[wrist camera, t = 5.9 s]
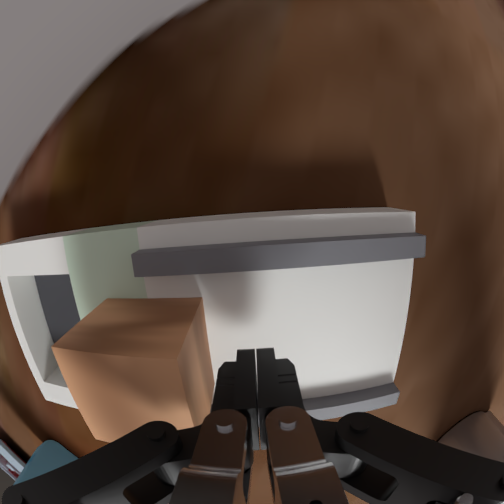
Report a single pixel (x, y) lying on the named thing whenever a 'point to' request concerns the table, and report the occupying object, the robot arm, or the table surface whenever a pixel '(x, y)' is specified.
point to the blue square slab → (45, 460)
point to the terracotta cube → (139, 364)
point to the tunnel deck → (237, 292)
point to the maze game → (10, 461)
